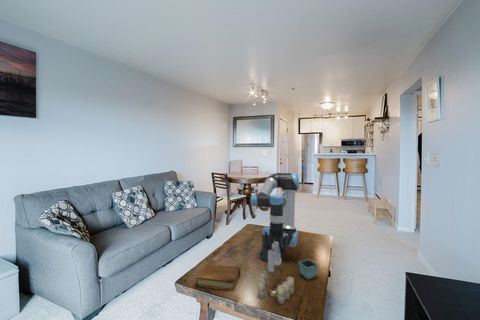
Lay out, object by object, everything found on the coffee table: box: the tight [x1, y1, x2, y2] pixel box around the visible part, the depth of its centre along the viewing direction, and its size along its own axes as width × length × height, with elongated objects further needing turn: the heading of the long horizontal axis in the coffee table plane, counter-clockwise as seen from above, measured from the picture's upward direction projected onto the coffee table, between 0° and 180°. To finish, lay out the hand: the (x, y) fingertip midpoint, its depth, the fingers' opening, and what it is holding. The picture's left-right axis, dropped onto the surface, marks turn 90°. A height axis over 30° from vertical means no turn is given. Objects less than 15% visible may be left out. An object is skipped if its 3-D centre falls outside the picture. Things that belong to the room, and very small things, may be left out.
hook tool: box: [267, 241, 280, 273], centre depth 131 cm, size 13×4×12 cm, turn 155°
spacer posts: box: [257, 270, 295, 305], centre depth 131 cm, size 14×20×8 cm
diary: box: [195, 263, 242, 292], centre depth 146 cm, size 23×19×6 cm
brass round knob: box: [268, 287, 277, 298], centre depth 131 cm, size 5×5×3 cm
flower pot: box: [298, 259, 319, 280], centre depth 150 cm, size 9×9×9 cm
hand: (276, 262), depth 135 cm, fingers closed on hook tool, 4 cm apart
